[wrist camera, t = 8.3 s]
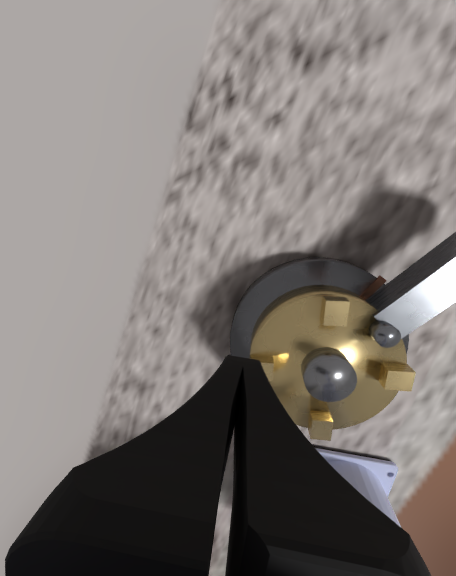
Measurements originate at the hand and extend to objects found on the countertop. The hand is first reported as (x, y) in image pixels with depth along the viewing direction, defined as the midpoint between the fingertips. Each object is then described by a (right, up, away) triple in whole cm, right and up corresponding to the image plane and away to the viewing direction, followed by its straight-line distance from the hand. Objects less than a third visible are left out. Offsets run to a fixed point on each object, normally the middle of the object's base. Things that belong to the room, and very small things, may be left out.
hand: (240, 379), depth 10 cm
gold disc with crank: (+9, +2, +6) cm, 11 cm away
